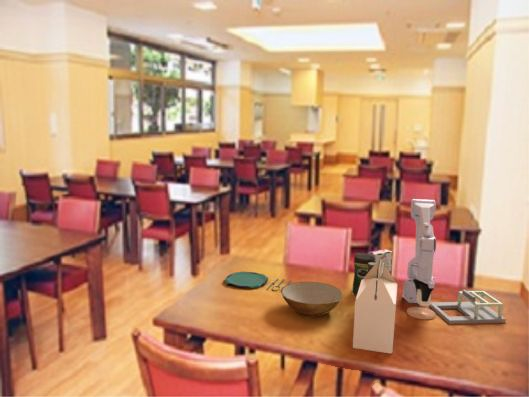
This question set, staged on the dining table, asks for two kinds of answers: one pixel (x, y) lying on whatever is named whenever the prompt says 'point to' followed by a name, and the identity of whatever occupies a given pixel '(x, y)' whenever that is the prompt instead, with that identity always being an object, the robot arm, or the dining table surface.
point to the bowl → (312, 297)
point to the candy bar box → (383, 257)
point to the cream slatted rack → (483, 303)
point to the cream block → (419, 299)
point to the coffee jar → (361, 269)
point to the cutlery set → (249, 280)
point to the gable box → (375, 311)
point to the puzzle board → (467, 313)
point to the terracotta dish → (421, 313)
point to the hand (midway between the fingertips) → (422, 299)
